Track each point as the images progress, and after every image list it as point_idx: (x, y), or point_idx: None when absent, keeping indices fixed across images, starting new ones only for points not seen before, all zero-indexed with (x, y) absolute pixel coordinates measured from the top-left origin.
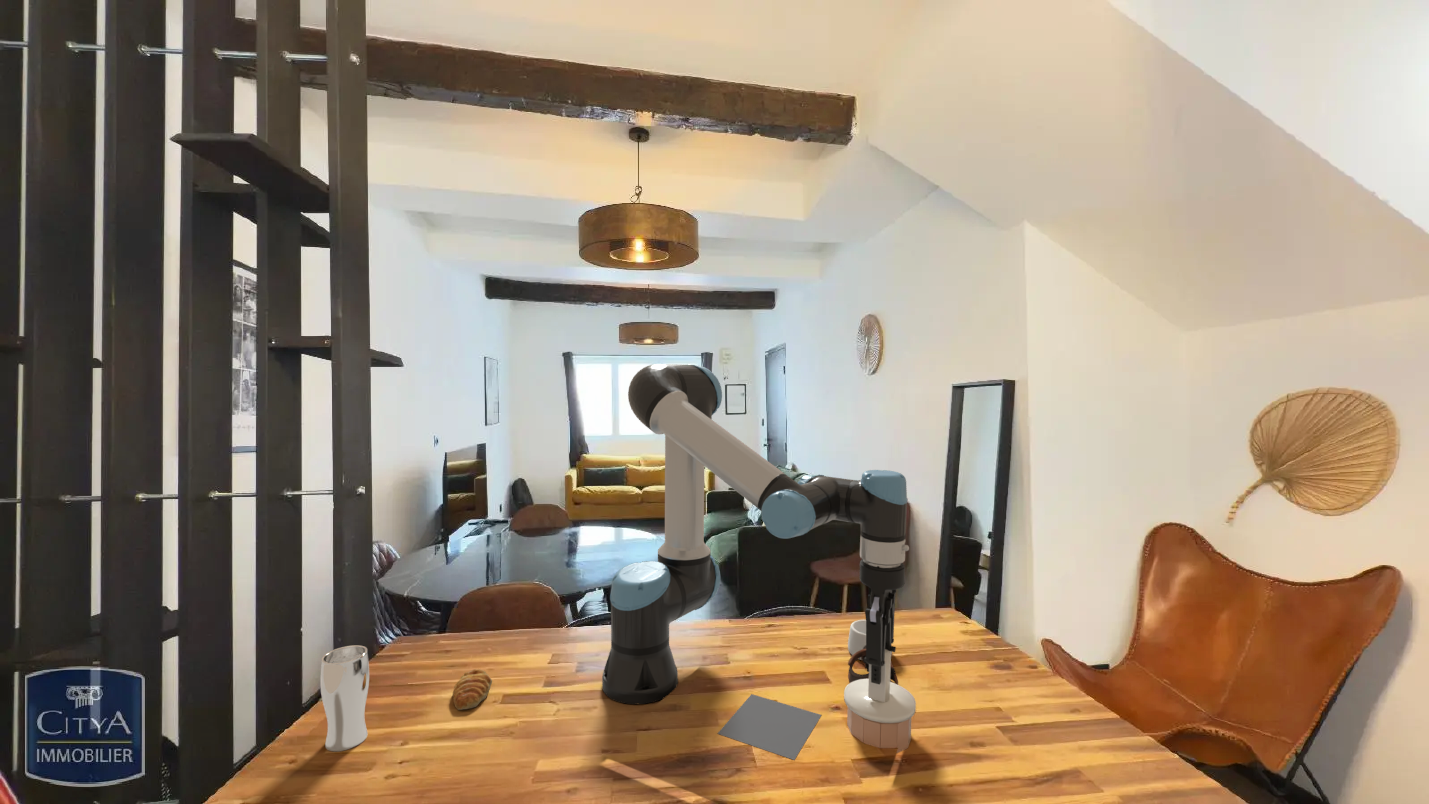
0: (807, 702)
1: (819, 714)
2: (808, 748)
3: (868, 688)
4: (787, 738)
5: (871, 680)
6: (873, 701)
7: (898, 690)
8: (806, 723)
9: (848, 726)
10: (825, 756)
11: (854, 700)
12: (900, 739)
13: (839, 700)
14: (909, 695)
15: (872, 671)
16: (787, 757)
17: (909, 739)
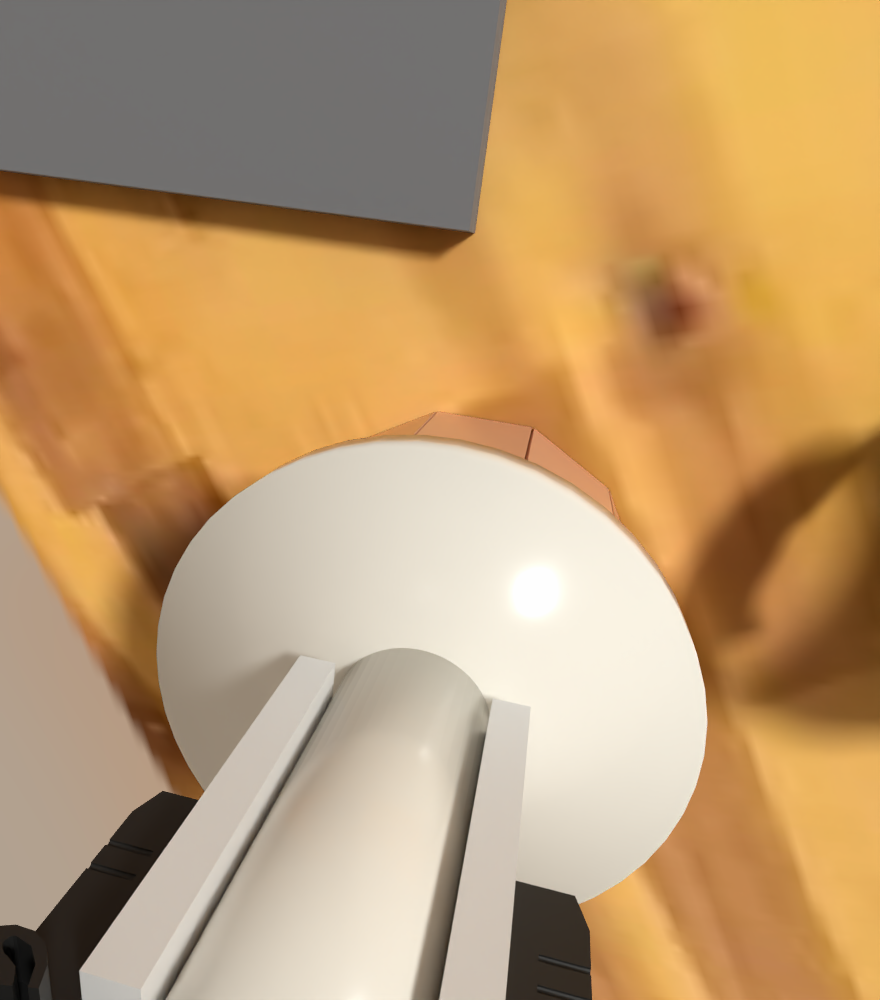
0: (684, 63)
1: (469, 213)
2: (169, 213)
3: (266, 705)
4: (114, 54)
5: (133, 812)
6: None
7: (561, 847)
8: (327, 142)
9: (397, 430)
10: (152, 324)
11: (274, 541)
12: None
13: (781, 317)
14: None
15: (63, 910)
16: None
17: None
